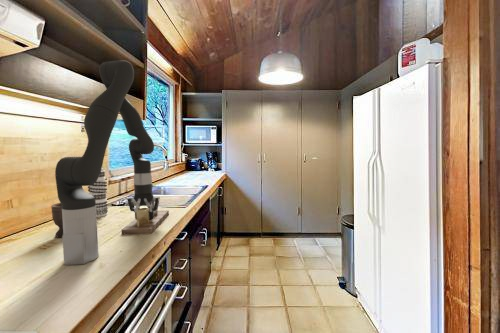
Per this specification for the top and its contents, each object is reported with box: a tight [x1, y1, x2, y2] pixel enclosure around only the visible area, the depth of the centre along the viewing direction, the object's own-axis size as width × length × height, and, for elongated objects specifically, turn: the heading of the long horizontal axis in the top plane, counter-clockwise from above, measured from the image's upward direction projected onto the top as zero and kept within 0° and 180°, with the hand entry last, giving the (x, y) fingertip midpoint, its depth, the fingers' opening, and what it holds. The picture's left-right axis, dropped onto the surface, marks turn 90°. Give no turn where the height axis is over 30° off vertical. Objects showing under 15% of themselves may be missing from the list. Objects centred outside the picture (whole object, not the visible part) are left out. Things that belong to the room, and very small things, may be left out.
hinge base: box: [120, 199, 170, 235], centre depth 128 cm, size 32×12×11 cm, turn 4°
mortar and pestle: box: [50, 202, 64, 239], centre depth 111 cm, size 12×9×20 cm
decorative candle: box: [87, 167, 109, 218], centre depth 143 cm, size 9×9×25 cm
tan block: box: [136, 206, 152, 227], centre depth 120 cm, size 11×5×6 cm, turn 4°
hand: (144, 219), depth 123 cm, fingers closed on tan block, 5 cm apart
